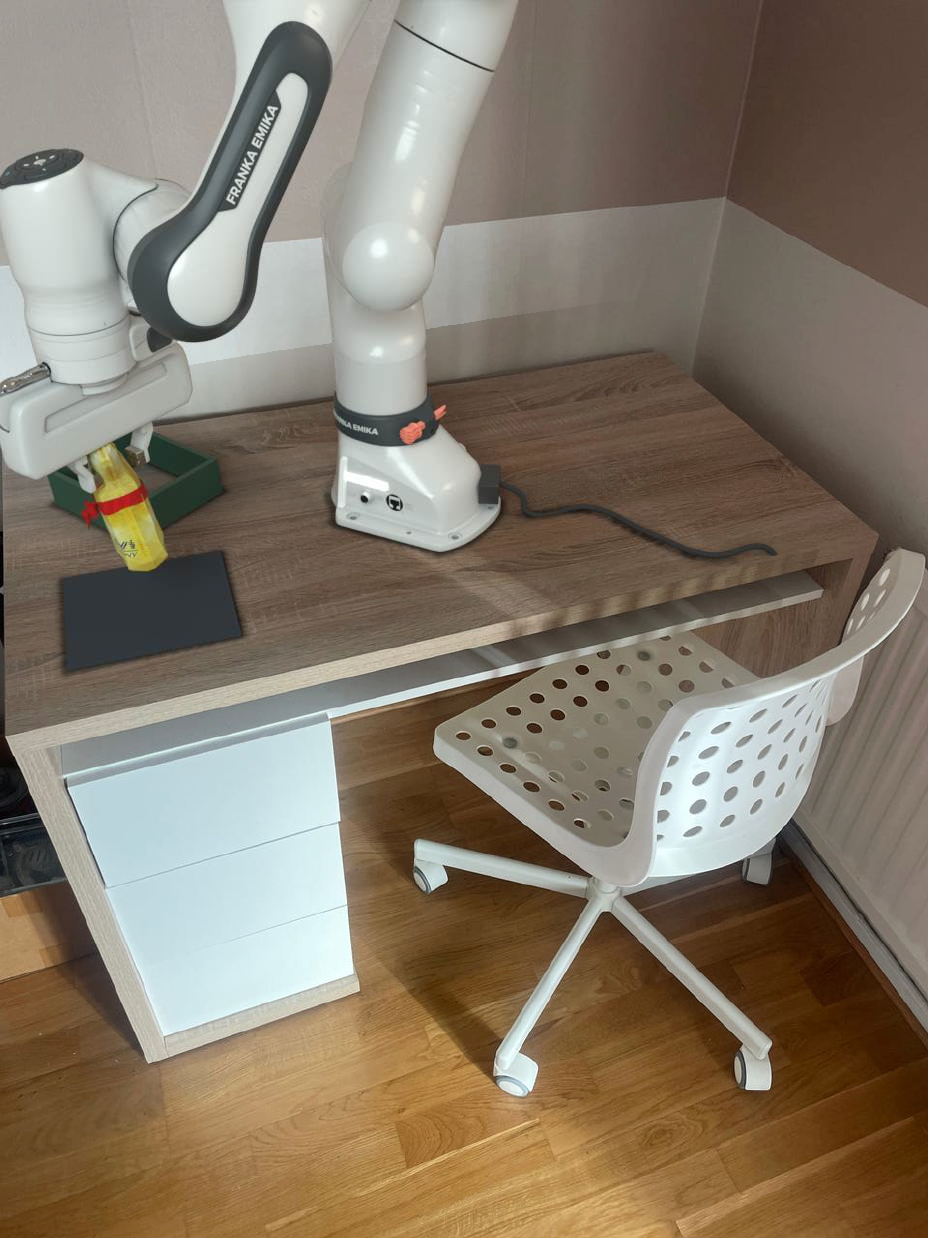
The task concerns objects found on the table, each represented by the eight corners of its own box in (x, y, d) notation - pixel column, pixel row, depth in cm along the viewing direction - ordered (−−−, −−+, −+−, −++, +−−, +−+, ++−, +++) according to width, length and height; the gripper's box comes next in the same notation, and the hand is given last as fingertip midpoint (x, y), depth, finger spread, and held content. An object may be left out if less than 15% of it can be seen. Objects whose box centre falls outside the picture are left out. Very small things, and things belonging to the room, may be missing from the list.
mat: (221, 552, 117) (220, 550, 117) (242, 636, 106) (241, 633, 106) (63, 580, 113) (63, 578, 112) (67, 671, 101) (66, 668, 101)
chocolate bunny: (153, 511, 108) (106, 393, 98) (178, 565, 101) (130, 444, 91) (92, 533, 107) (38, 415, 96) (113, 590, 99) (56, 468, 89)
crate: (223, 491, 127) (217, 458, 124) (136, 545, 118) (128, 510, 115) (143, 456, 134) (136, 423, 131) (55, 504, 125) (45, 470, 121)
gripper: (8, 398, 81) (51, 534, 90) (191, 318, 94) (212, 443, 103) (-38, 378, 84) (8, 512, 93) (146, 302, 97) (170, 426, 106)
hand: (116, 475), depth 98 cm, fingers closed on chocolate bunny, 4 cm apart
